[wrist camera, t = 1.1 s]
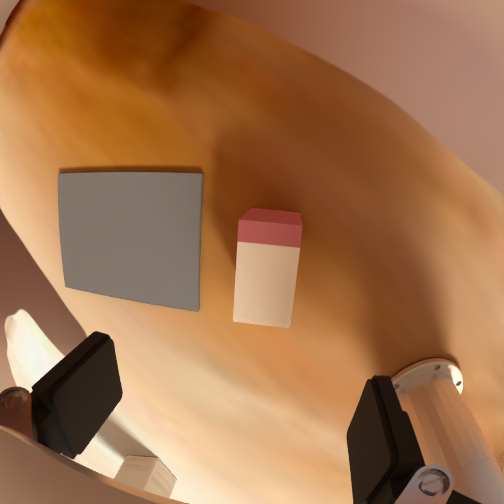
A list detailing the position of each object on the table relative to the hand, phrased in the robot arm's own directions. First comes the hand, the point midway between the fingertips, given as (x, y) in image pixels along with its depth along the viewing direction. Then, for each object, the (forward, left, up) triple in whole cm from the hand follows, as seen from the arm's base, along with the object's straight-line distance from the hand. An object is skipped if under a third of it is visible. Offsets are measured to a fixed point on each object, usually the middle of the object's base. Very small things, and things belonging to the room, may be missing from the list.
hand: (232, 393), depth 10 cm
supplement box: (-42, +17, -21) cm, 50 cm away
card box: (0, 0, -20) cm, 20 cm away
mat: (0, +16, -20) cm, 26 cm away
